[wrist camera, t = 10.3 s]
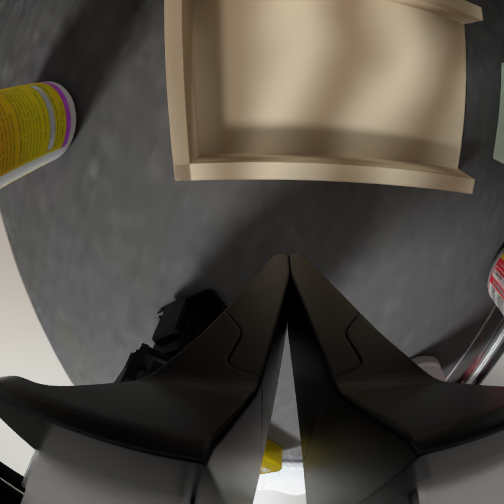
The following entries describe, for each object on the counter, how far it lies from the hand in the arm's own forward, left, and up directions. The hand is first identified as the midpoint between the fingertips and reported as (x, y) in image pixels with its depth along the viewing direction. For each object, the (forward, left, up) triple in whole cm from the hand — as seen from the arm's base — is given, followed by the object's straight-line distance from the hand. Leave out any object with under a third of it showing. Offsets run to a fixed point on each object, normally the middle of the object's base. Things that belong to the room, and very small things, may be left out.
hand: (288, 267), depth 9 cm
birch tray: (+4, -6, -12) cm, 14 cm away
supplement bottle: (+13, +13, -12) cm, 22 cm away
